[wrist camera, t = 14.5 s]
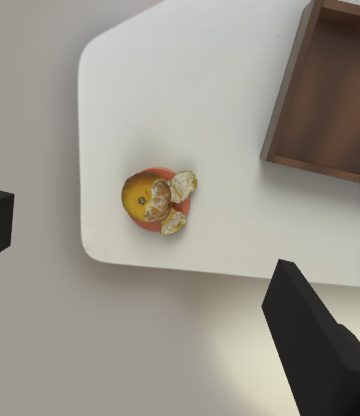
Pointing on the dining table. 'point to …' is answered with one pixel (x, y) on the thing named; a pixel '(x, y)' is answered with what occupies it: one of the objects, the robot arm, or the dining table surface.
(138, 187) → the fruit
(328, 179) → the dining table surface
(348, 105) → the bin
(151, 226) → the plate
